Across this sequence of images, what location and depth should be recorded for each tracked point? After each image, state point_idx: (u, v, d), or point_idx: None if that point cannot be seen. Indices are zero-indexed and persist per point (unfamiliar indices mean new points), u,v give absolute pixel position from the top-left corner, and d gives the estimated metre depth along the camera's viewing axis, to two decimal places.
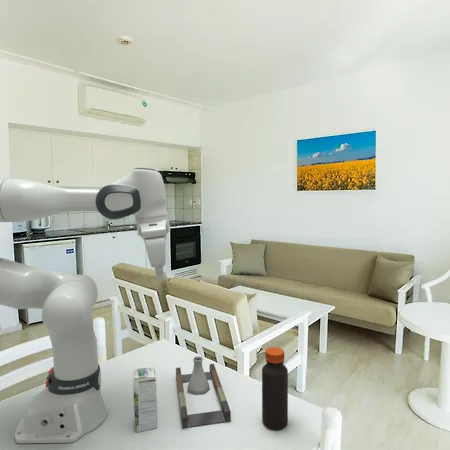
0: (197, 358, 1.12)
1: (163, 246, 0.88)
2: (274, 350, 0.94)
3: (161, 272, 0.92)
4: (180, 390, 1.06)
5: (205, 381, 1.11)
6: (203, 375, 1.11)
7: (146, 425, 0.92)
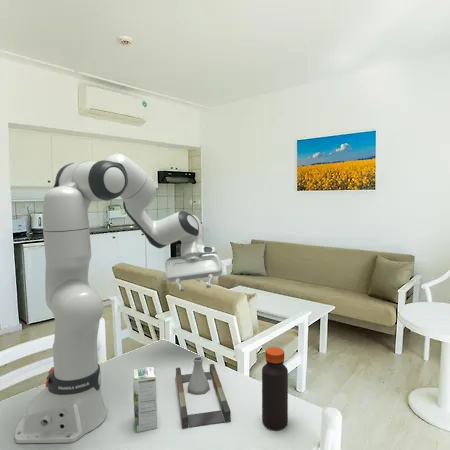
0: (197, 358, 1.12)
1: None
2: (274, 350, 0.94)
3: (211, 281, 1.25)
4: (180, 390, 1.06)
5: (205, 381, 1.11)
6: (203, 375, 1.11)
7: (146, 425, 0.92)
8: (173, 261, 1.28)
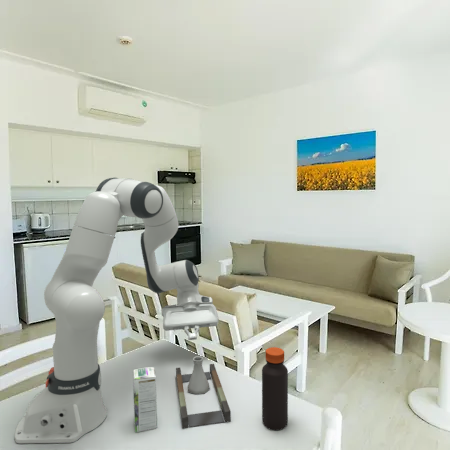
0: (197, 358, 1.12)
1: None
2: (274, 350, 0.94)
3: None
4: (180, 390, 1.06)
5: (205, 381, 1.11)
6: (203, 375, 1.11)
7: (146, 425, 0.92)
8: (170, 309, 1.29)
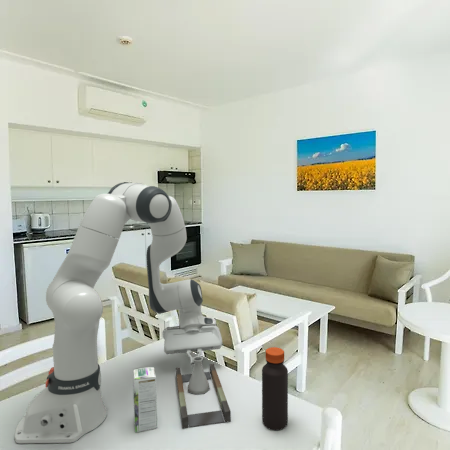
0: (197, 358, 1.12)
1: None
2: (274, 350, 0.94)
3: None
4: (180, 390, 1.06)
5: (205, 381, 1.11)
6: (203, 375, 1.11)
7: (146, 425, 0.92)
8: (172, 332, 1.23)
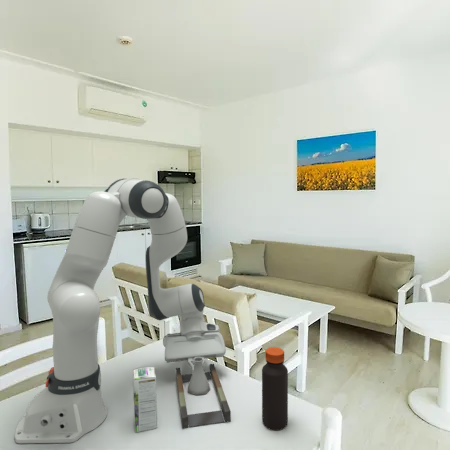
0: (197, 358, 1.12)
1: None
2: (274, 350, 0.94)
3: None
4: (180, 390, 1.06)
5: (205, 381, 1.10)
6: (203, 375, 1.10)
7: (146, 425, 0.92)
8: (173, 339, 1.17)
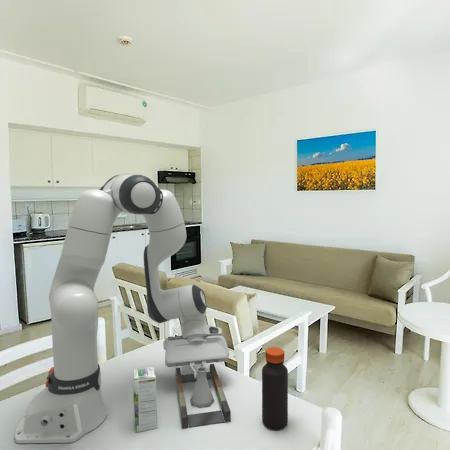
0: (200, 368, 1.06)
1: None
2: (274, 350, 0.94)
3: None
4: (180, 390, 1.06)
5: (210, 392, 1.04)
6: (207, 386, 1.04)
7: (146, 425, 0.92)
8: (174, 342, 1.12)
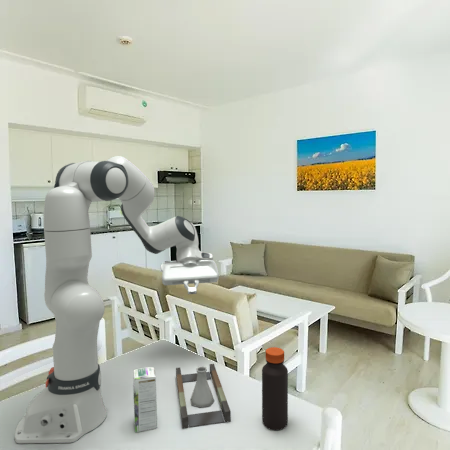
0: (200, 368, 1.06)
1: None
2: (274, 350, 0.94)
3: (196, 287, 1.24)
4: (180, 390, 1.06)
5: (210, 392, 1.04)
6: (207, 386, 1.04)
7: (146, 425, 0.92)
8: (170, 264, 1.26)
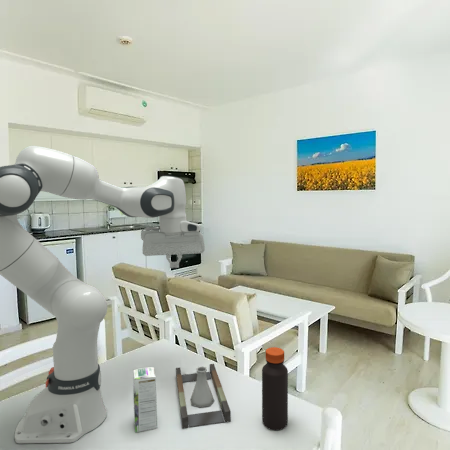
0: (200, 368, 1.06)
1: None
2: (274, 350, 0.94)
3: None
4: (180, 390, 1.06)
5: (210, 392, 1.04)
6: (207, 386, 1.04)
7: (146, 425, 0.92)
8: (151, 236, 1.13)
